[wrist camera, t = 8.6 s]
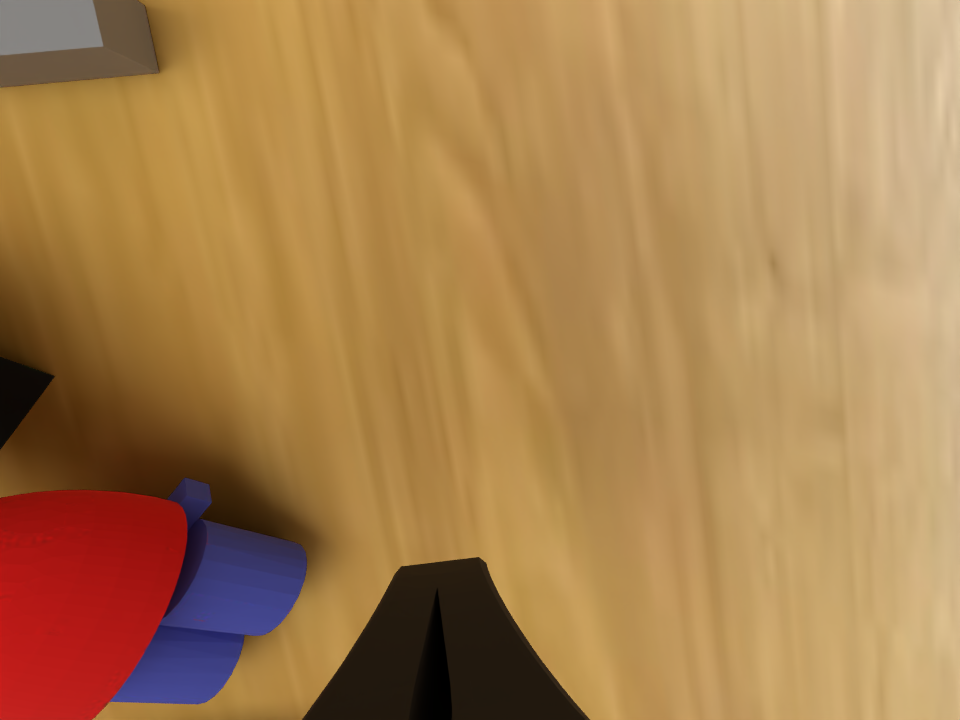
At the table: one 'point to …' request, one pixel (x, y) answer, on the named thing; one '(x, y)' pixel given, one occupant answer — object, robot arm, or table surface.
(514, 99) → the table surface
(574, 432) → the table surface
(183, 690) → the toy
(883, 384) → the table surface
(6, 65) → the bay
